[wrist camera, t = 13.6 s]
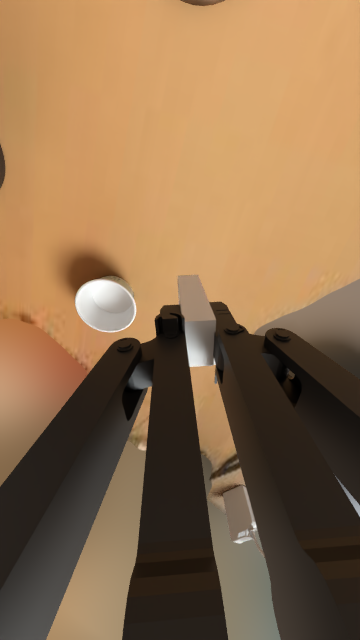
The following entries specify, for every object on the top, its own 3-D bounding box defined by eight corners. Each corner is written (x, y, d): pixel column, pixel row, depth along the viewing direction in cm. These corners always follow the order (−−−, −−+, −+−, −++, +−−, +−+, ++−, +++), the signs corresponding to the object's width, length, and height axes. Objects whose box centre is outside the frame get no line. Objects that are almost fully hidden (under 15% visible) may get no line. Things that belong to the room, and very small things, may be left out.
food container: (132, 265, 43) (127, 275, 38) (144, 314, 49) (141, 328, 44) (78, 273, 44) (64, 284, 38) (96, 320, 50) (87, 336, 44)
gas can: (246, 482, 99) (268, 560, 77) (252, 485, 101) (274, 562, 79) (222, 493, 104) (236, 569, 82) (228, 495, 106) (243, 570, 84)
